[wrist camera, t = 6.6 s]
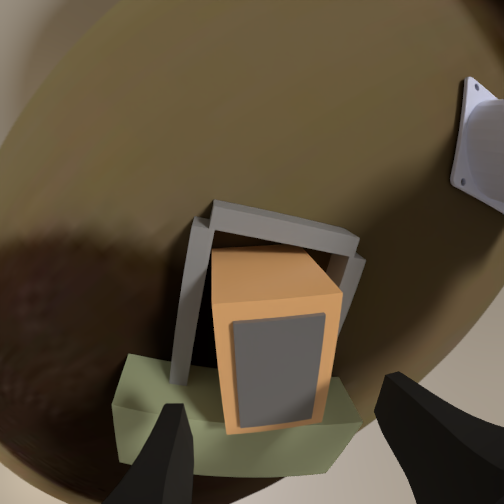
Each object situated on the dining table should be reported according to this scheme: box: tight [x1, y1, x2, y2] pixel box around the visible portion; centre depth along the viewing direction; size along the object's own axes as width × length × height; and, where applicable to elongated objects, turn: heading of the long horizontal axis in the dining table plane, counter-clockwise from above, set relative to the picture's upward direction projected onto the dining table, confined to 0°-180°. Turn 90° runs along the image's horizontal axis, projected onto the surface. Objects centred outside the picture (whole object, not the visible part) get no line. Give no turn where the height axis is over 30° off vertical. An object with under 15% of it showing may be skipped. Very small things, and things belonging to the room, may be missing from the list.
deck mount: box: [112, 200, 366, 477], centre depth 15 cm, size 14×16×4 cm
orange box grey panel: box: [212, 244, 343, 435], centre depth 14 cm, size 4×7×6 cm, turn 1°
